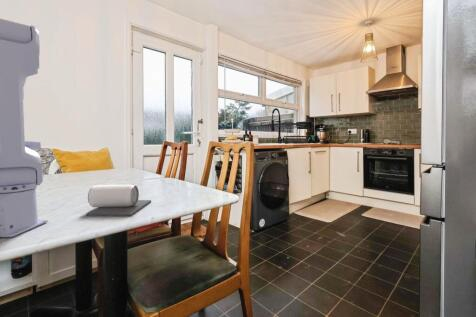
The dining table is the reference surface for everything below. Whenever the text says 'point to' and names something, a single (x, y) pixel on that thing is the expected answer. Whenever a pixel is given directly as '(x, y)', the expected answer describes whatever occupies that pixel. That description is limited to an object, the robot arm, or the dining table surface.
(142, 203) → the mat
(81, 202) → the dining table surface
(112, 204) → the can
